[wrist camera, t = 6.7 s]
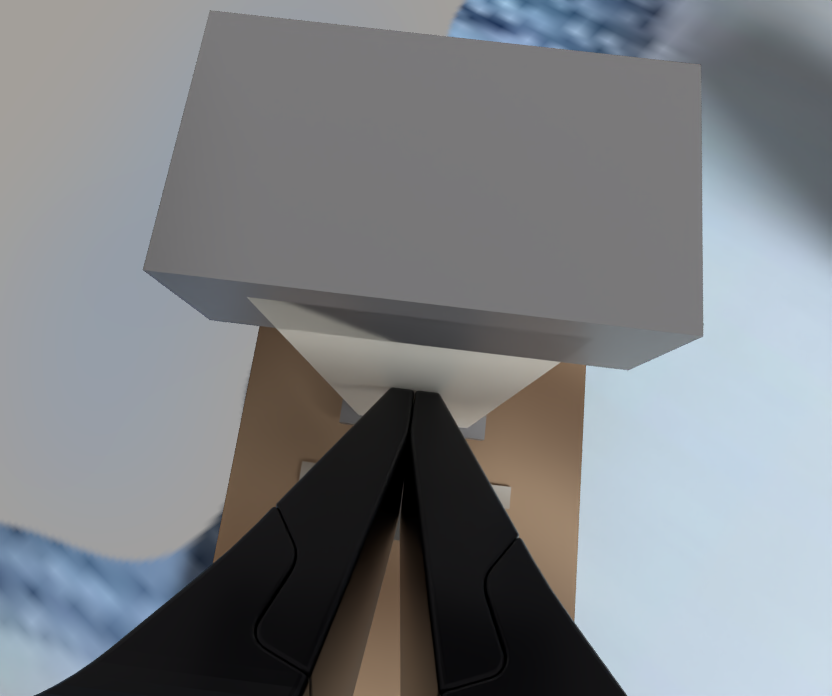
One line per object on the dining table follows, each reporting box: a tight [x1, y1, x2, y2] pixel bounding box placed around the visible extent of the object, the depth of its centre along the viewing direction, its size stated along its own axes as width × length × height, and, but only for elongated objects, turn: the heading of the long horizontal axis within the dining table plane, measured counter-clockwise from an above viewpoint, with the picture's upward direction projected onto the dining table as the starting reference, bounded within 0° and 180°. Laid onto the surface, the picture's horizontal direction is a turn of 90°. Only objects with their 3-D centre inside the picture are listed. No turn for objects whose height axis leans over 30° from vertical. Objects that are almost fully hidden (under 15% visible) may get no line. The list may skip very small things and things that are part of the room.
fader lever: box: [143, 10, 703, 441], centre depth 10 cm, size 3×4×11 cm
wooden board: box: [213, 326, 586, 696], centre depth 15 cm, size 22×10×2 cm, turn 173°
